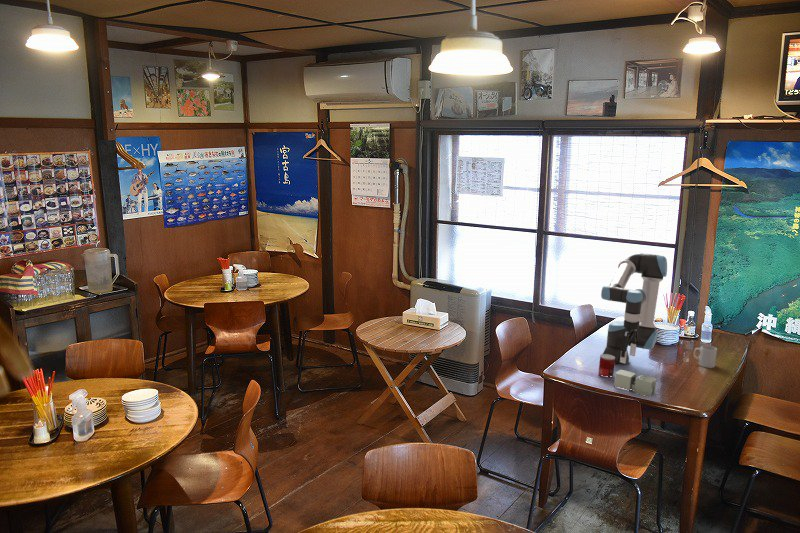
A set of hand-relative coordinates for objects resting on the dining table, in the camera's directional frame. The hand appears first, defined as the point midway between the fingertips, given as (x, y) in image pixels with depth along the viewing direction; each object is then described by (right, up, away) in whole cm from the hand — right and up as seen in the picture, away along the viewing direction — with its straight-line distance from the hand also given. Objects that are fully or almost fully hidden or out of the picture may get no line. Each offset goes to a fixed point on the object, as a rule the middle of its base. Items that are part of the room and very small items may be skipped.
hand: (627, 359), depth 325 cm
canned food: (-5, -12, +19) cm, 23 cm away
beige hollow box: (-1, -15, +3) cm, 16 cm away
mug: (+59, -9, +40) cm, 72 cm away
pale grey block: (+3, -16, 0) cm, 17 cm away
